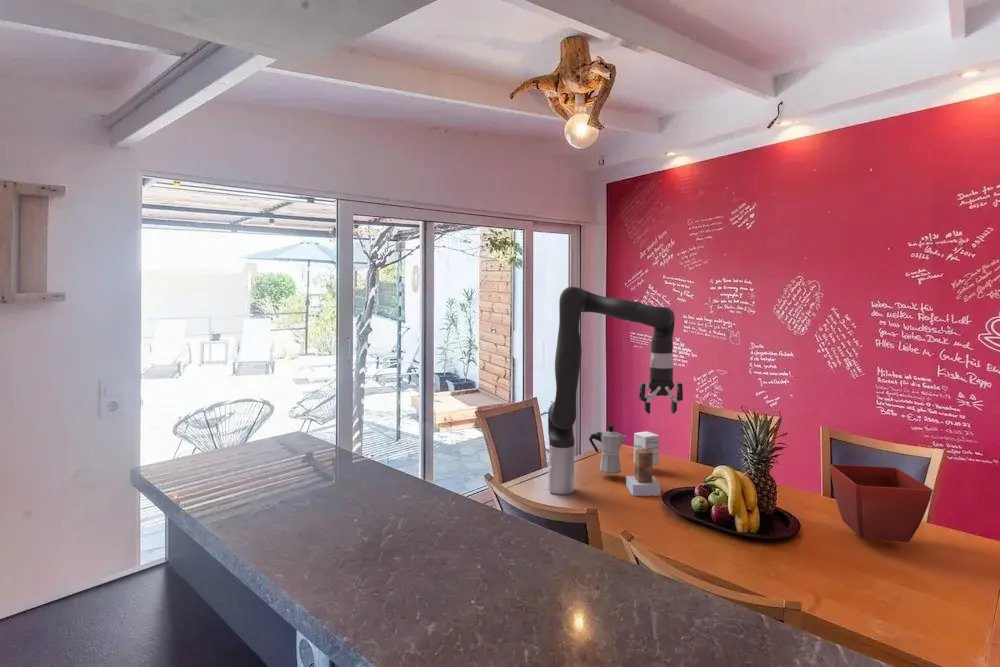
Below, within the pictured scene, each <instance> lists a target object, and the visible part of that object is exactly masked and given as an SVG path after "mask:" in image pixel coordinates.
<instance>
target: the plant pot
mask: <svg viewBox="0 0 1000 667" xmlns="http://www.w3.org/2000/svg"><path fill="white" fill-rule="evenodd" d="M829 468H830V474H831V475H830V476H831V482H832V487H833V493H834V496H835V502H836V504H837V507H838V511H839V514H840V517H841V519H842V521H843V523H845V524H846V525H847V526H848V527H849V529H850V530H852V531H853V533H854V534H856V535H857V536H858V537H859V539H864V540H874V541H884V542H885V541H886V542H901V543H909V542H911V540H912V539H913V537H914V536H915V534H916V532H917V530H918V528H919V526H920V524H921V523H922V521H923V519H924V516H925V514H926V512H927V510H928V506H929V504H930V501H931V499H932V498H931V497H932V494H933V490H934V489H933V488H931V487H930V486H927V484H924V483H922V482H921V481H920V480H918V479H916V478H914V477H913V476H911V475H909V474H908V473H906V472H905V471H903V470H901V469H899V467H891V466H890V467H889V466H871V465H854V464H853V465H852V464H835V463H832V464H830V467H829Z"/></svg>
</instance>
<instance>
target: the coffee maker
mask: <svg viewBox="0 0 1000 667" xmlns="http://www.w3.org/2000/svg"><path fill="white" fill-rule="evenodd" d="M614 427H615V426H614V425H613V424H610V425H609V424H608V425H607V431H602V432H601V431H597V432H596V433H592V434H590V436H589V438H588V441H589V442H590V444H591V446H592V447H593V449H594V450H595V452H596V453H598V452H599V449H598V447H597V445H596V444H595V443H594V441H593V440H596V441H598V442H600V447H601V451H602V453H601V459H600V464H599V470H600V472H601V473H605V474H613V475H616V474H619V473H622V466H621V460H620V454H619V452H620V451H621V447H622V446H621V445H622V444H623V443H624V442H625V439H626V438H627V437H628V436H627V435H623V434H622V433H619V432H618V431H617V432H616V431H614V429H615V428H614Z"/></svg>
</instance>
